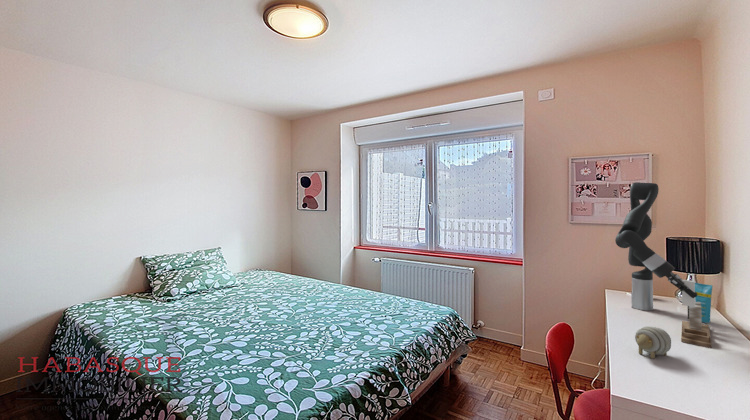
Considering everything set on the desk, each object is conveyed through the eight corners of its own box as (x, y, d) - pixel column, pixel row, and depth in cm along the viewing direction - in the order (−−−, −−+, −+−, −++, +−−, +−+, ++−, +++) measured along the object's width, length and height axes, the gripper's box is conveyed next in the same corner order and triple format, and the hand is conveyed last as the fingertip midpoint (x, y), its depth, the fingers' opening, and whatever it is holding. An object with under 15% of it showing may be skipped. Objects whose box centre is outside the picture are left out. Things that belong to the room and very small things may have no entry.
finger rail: (681, 341, 137) (680, 313, 137) (682, 323, 157) (681, 298, 157) (711, 347, 131) (711, 318, 130) (708, 328, 150) (708, 302, 150)
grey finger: (680, 304, 141) (680, 280, 141) (680, 303, 143) (680, 279, 143) (694, 307, 138) (694, 282, 138) (695, 305, 140) (694, 280, 140)
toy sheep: (626, 353, 128) (626, 326, 128) (649, 345, 135) (649, 319, 134) (658, 365, 118) (658, 335, 118) (681, 355, 125) (681, 327, 125)
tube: (691, 319, 162) (690, 282, 161) (696, 318, 164) (695, 281, 163) (710, 324, 155) (710, 285, 155) (715, 322, 157) (715, 284, 156)
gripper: (664, 262, 141) (704, 294, 132) (666, 258, 150) (703, 288, 142) (649, 272, 144) (686, 304, 136) (652, 268, 154) (687, 297, 146)
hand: (695, 295), depth 139 cm, fingers closed on grey finger, 3 cm apart
